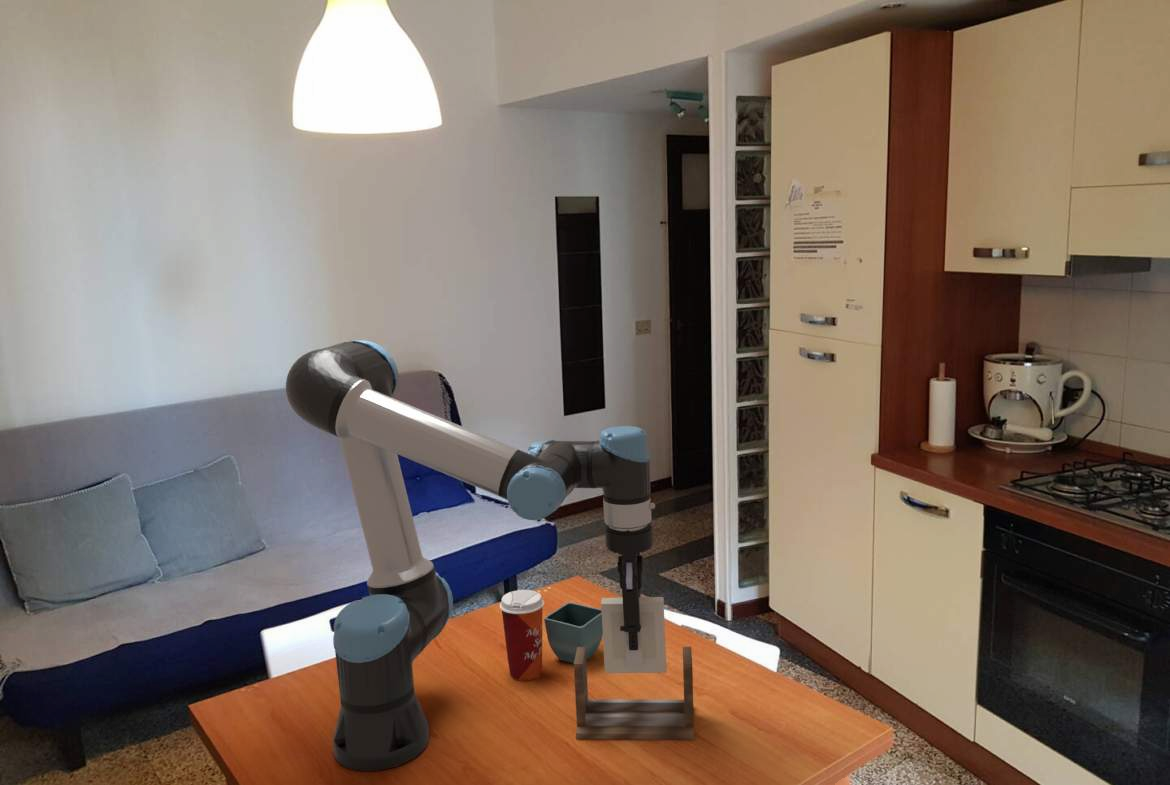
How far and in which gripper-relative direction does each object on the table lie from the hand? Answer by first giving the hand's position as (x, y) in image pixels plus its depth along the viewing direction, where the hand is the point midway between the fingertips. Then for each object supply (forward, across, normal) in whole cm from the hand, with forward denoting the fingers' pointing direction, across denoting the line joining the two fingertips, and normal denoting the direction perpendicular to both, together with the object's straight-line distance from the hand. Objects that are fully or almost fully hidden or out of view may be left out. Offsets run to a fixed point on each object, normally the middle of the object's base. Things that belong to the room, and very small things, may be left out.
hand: (635, 661), depth 146 cm
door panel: (+2, 0, 0) cm, 2 cm away
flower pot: (+11, +23, +12) cm, 28 cm away
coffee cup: (+11, +17, +21) cm, 30 cm away
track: (+11, 0, 0) cm, 11 cm away
